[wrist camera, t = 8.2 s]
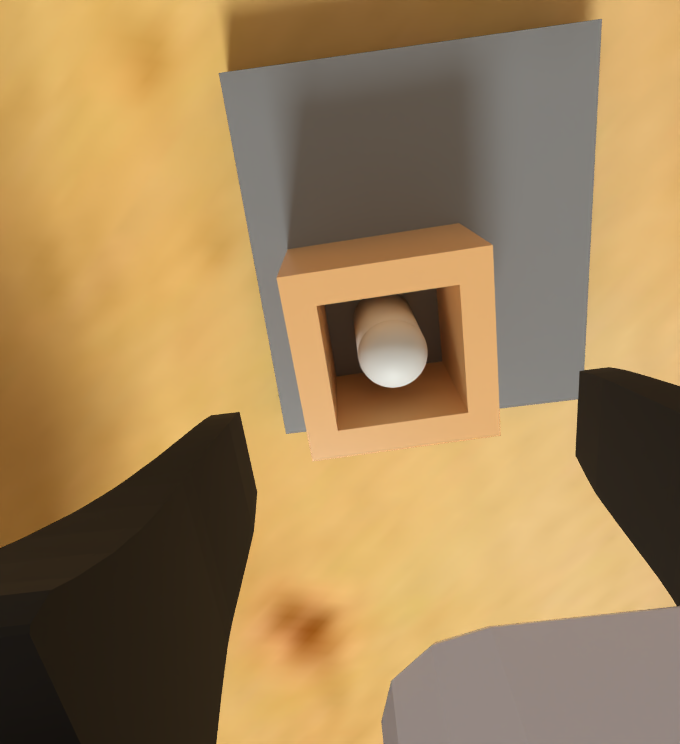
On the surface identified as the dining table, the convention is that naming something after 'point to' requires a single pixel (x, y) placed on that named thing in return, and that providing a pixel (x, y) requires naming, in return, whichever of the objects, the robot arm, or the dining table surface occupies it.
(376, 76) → the hook board
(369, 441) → the orange loop
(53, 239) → the dining table surface
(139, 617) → the robot arm
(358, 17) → the dining table surface
